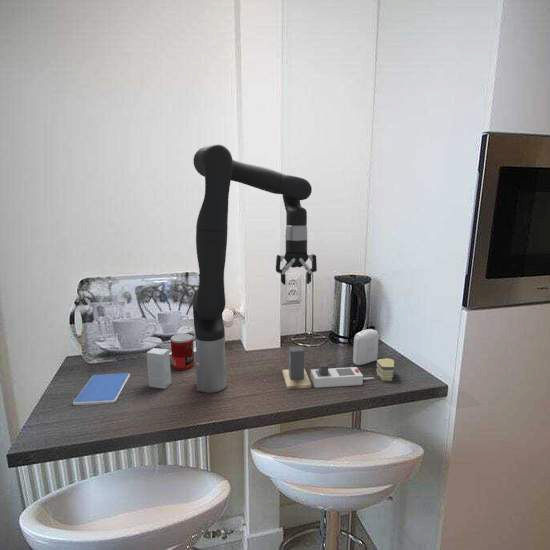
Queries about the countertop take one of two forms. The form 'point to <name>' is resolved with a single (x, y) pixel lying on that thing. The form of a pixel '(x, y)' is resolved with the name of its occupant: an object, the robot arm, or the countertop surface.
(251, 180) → the robot arm
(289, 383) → the board
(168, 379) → the skincare box
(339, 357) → the countertop surface
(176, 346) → the canned food
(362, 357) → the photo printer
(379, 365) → the yellow layered block
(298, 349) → the block
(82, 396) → the tablet computer
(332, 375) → the power strip
